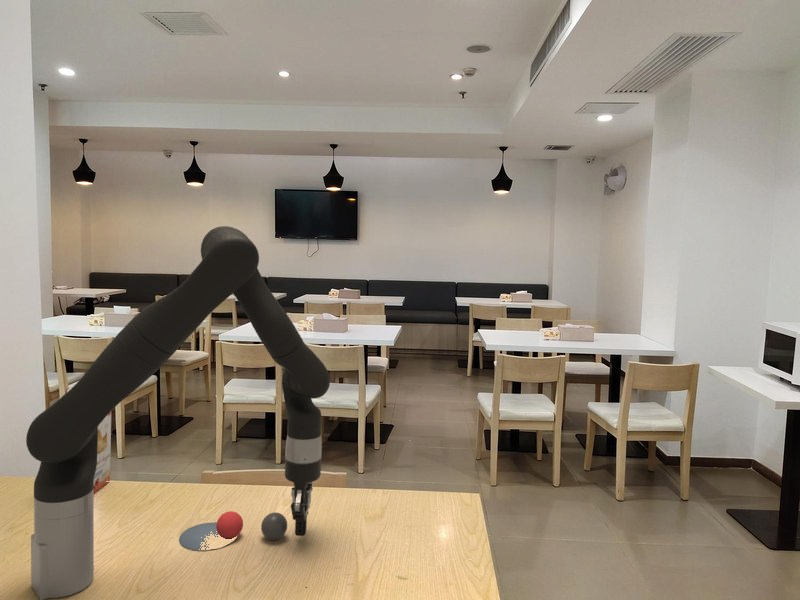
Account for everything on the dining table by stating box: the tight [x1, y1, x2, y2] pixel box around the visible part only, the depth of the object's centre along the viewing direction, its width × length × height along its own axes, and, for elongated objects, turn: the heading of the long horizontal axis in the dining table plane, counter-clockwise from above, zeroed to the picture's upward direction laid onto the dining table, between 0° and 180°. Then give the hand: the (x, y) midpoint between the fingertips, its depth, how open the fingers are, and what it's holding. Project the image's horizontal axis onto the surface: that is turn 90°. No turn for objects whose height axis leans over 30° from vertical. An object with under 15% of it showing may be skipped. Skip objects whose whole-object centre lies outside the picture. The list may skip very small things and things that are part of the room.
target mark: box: [178, 521, 218, 551], centre depth 125 cm, size 12×12×1 cm
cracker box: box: [94, 410, 112, 494], centre depth 142 cm, size 14×6×21 cm, turn 179°
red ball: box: [216, 510, 244, 539], centre depth 124 cm, size 6×6×6 cm
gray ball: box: [260, 511, 288, 541], centre depth 125 cm, size 6×6×6 cm
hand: (300, 533), depth 125 cm, fingers closed
